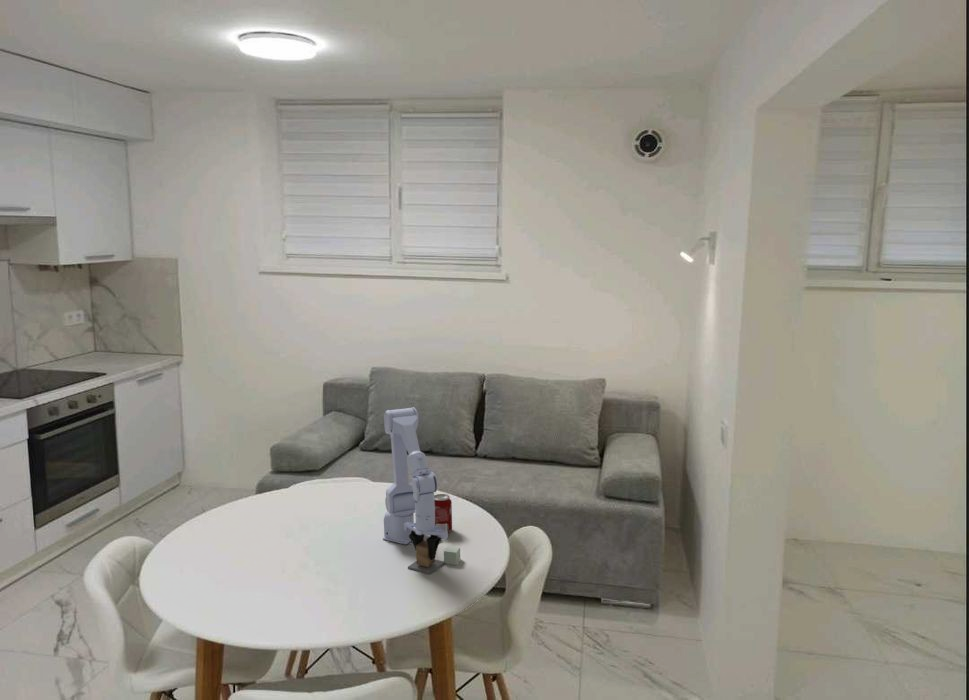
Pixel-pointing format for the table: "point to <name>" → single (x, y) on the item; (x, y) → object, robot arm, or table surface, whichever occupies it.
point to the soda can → (443, 512)
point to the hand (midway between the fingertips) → (426, 556)
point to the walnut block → (423, 554)
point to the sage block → (452, 555)
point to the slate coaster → (424, 569)
